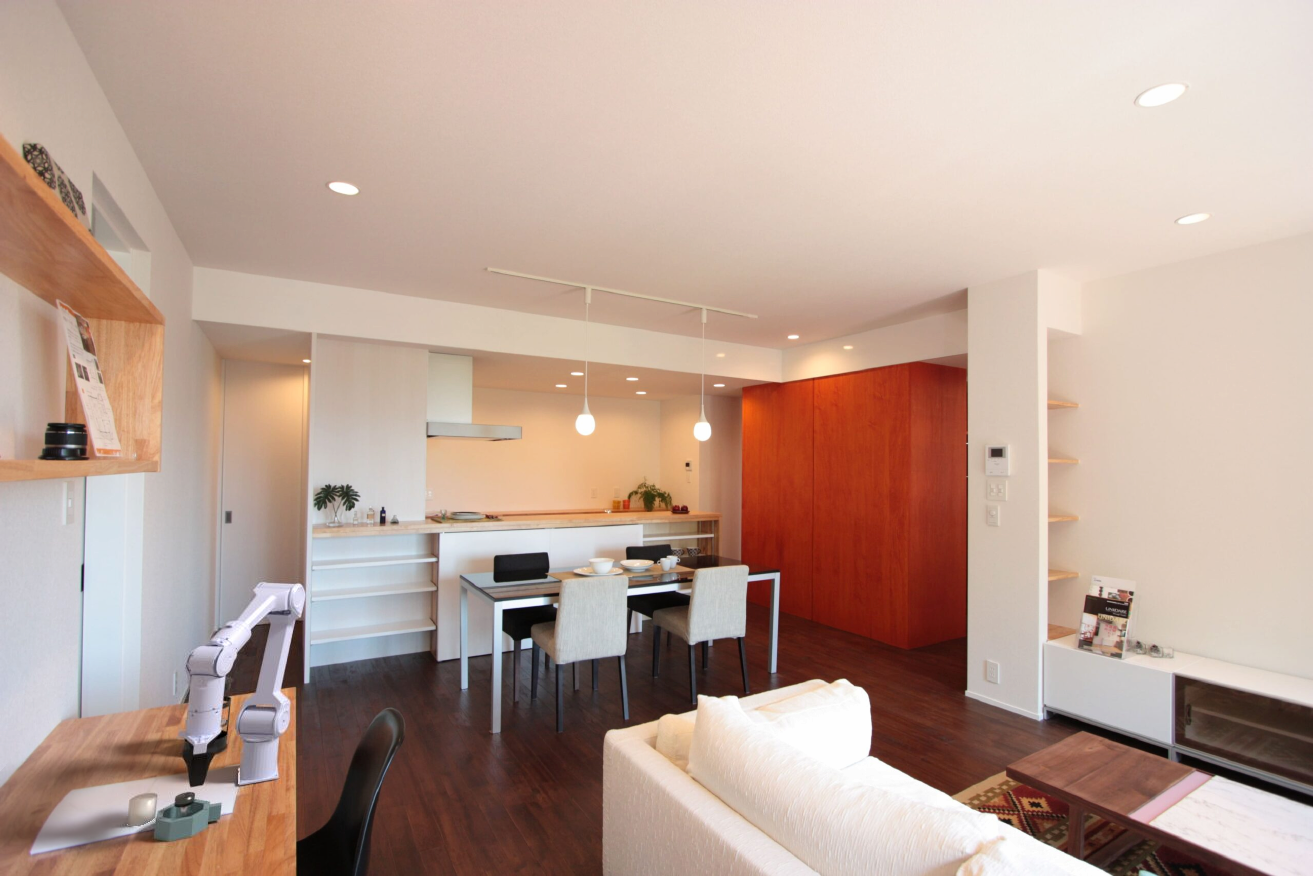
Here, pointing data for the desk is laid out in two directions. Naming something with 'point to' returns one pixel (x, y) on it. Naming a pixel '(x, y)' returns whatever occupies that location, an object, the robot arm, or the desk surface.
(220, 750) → the french press
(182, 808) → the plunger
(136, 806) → the cream rounded block
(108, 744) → the desk surface
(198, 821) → the grey-green octagonal bowl
